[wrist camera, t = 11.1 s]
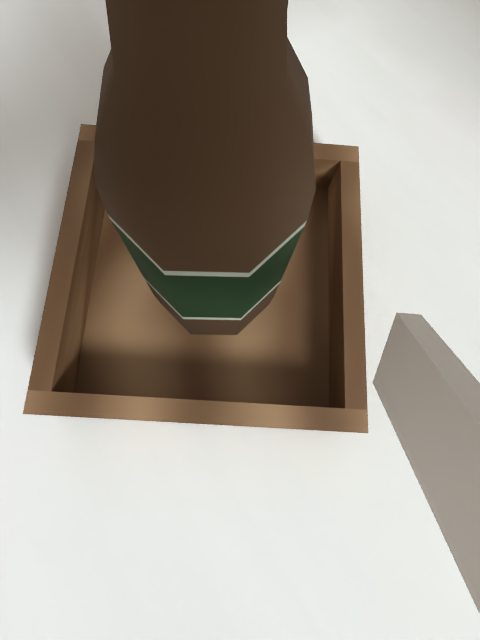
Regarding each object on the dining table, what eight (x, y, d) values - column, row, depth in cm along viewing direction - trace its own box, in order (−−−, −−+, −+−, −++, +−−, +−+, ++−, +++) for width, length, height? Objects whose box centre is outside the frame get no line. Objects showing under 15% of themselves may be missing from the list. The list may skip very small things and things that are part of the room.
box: (339, 184, 28) (358, 146, 24) (343, 430, 23) (368, 433, 19) (101, 165, 27) (81, 124, 23) (57, 414, 23) (22, 413, 19)
